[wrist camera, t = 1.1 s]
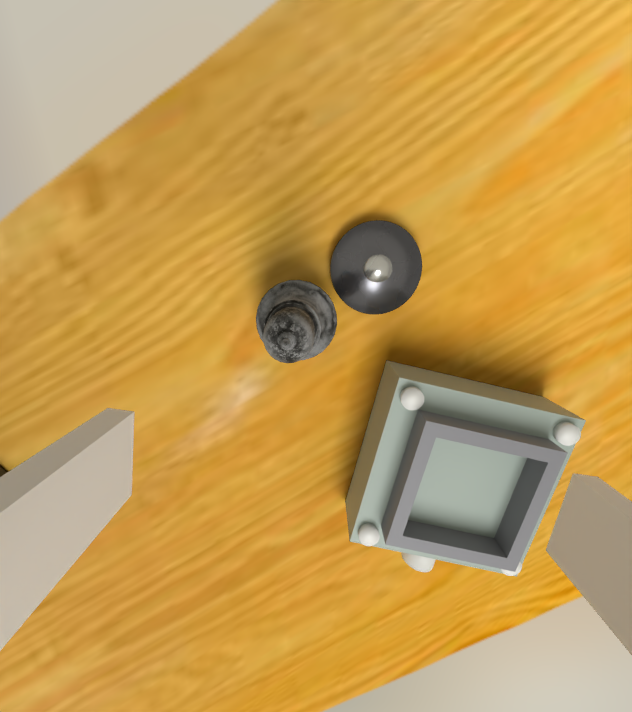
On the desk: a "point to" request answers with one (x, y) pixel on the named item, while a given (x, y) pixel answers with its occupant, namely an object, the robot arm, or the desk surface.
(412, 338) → the desk surface
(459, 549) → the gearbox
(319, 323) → the dark metal chess piece
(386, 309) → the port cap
